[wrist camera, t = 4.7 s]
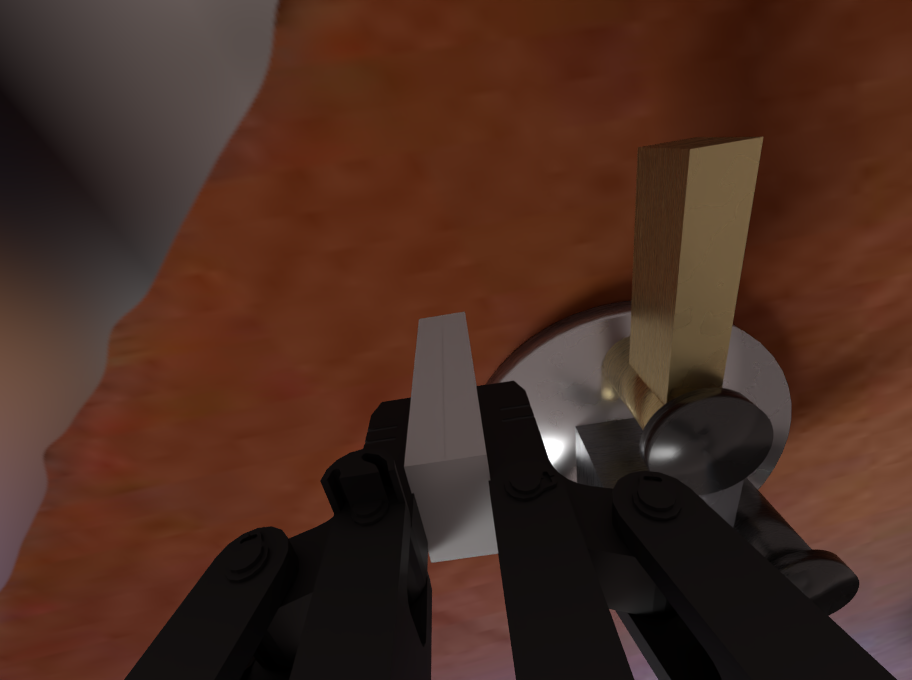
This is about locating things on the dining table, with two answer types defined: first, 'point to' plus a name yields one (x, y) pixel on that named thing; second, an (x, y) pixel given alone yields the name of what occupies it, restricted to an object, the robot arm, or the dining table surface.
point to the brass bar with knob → (690, 313)
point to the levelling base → (595, 398)
